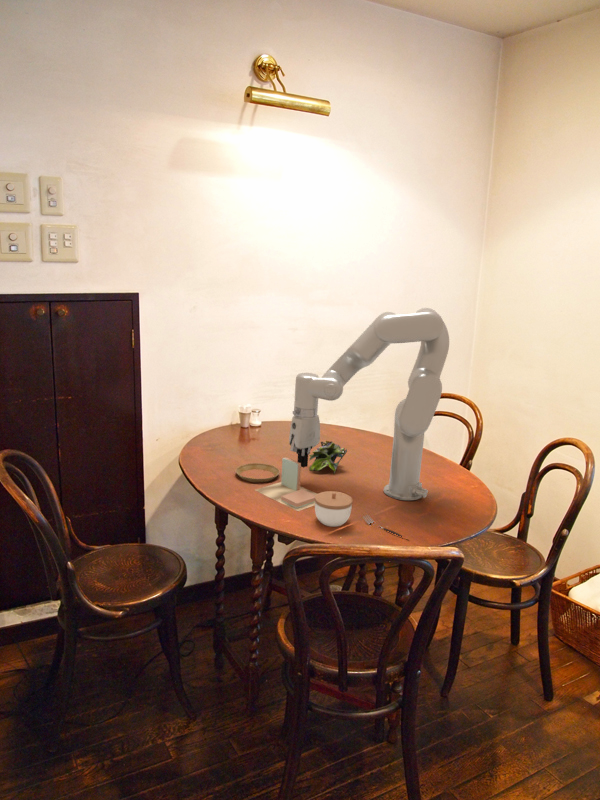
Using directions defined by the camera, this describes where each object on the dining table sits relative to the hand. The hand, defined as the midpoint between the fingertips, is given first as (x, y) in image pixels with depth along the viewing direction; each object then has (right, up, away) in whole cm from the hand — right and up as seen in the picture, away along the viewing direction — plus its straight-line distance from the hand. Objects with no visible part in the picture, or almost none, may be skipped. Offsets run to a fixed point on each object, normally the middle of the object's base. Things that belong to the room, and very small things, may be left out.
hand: (302, 465), depth 203 cm
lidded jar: (+8, -14, -25) cm, 30 cm away
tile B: (-4, -7, -2) cm, 8 cm away
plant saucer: (-15, -5, +6) cm, 17 cm away
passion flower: (+9, -4, +16) cm, 19 cm away
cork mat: (-3, -9, -8) cm, 12 cm away
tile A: (+2, -8, -10) cm, 13 cm away
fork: (+24, -16, -28) cm, 40 cm away
